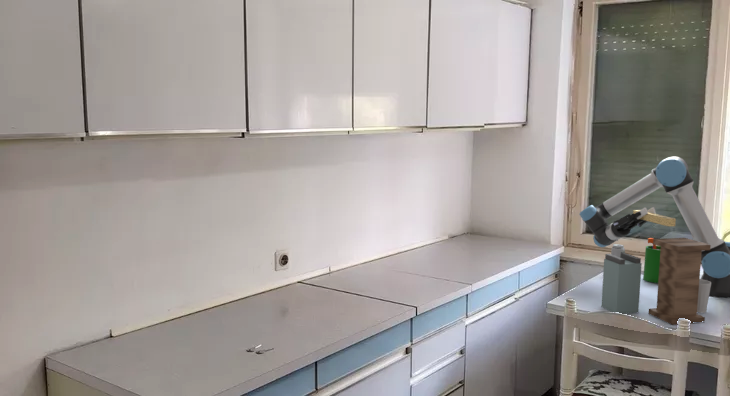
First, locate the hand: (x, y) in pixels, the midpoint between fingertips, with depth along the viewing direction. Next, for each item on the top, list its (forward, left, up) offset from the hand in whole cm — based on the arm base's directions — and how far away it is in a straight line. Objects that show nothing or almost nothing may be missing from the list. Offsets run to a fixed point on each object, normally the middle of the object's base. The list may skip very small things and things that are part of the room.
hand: (650, 210), depth 264 cm
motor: (-9, -41, -39) cm, 58 cm away
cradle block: (+10, +12, -39) cm, 42 cm away
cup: (-20, +4, -39) cm, 44 cm away
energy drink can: (+7, -45, -39) cm, 61 cm away
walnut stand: (-10, +17, -39) cm, 44 cm away
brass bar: (-1, +2, -4) cm, 5 cm away
